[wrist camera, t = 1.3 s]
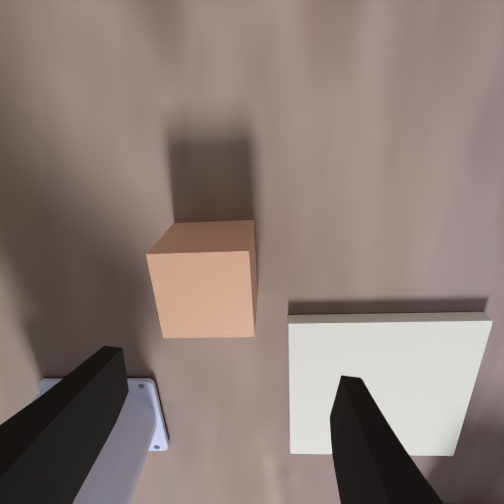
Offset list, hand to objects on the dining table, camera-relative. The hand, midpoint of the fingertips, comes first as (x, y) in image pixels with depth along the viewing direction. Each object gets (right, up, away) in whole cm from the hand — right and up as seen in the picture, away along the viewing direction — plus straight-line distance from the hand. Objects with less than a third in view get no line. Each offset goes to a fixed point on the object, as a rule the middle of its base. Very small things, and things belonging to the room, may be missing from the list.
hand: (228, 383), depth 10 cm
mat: (+10, -6, +14) cm, 18 cm away
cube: (-1, +4, +10) cm, 11 cm away
